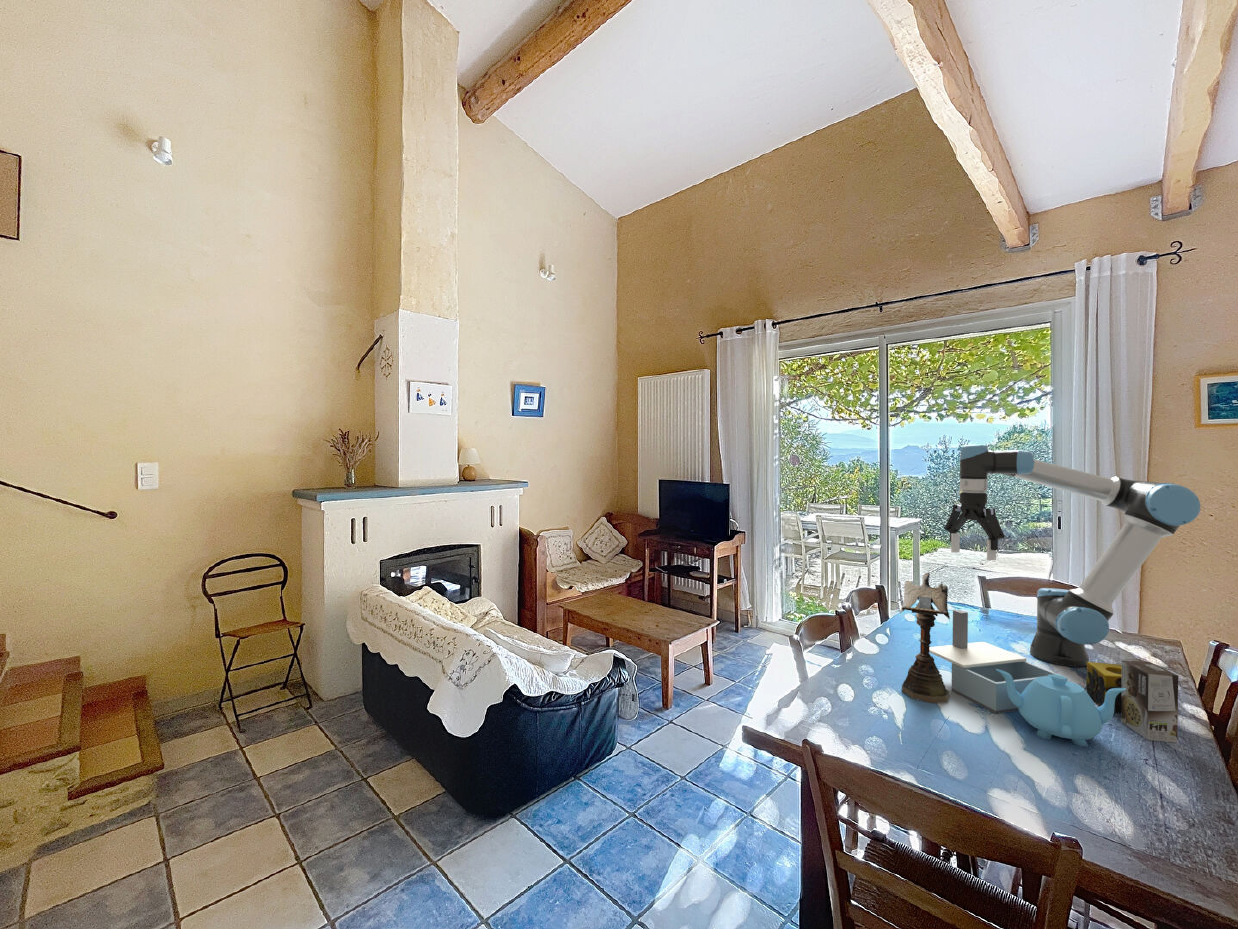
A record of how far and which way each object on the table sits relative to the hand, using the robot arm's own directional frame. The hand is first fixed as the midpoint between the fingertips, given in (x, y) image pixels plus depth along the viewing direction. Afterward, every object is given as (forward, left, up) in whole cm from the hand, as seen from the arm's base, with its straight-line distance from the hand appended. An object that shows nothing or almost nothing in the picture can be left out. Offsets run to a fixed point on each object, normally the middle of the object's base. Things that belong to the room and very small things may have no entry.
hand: (972, 556), depth 175 cm
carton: (+14, +24, -35) cm, 44 cm away
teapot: (+19, +42, -35) cm, 58 cm away
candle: (-11, +35, -35) cm, 51 cm away
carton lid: (+14, +14, -27) cm, 33 cm away
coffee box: (-3, +47, -35) cm, 59 cm away
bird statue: (+35, +19, -35) cm, 53 cm away
